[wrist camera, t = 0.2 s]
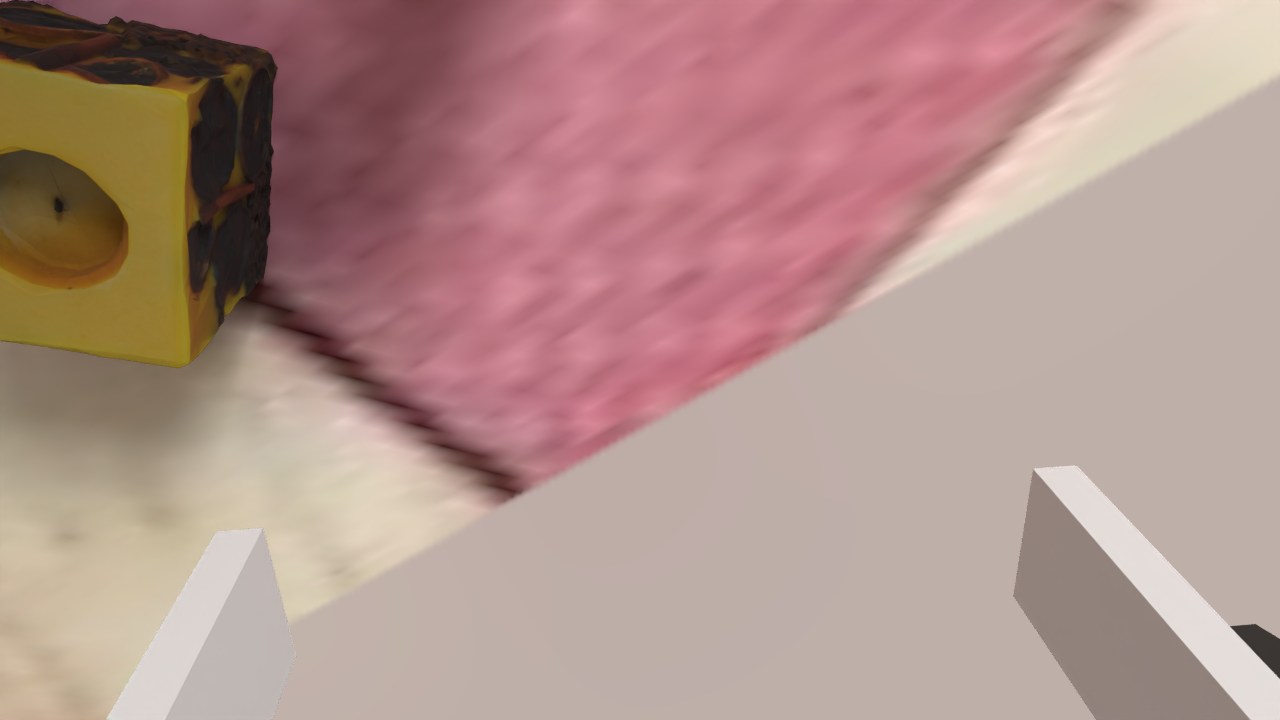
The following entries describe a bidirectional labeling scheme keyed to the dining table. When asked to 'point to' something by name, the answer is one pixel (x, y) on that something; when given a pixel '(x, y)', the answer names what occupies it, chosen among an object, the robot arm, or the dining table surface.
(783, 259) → the dining table surface
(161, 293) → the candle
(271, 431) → the dining table surface
